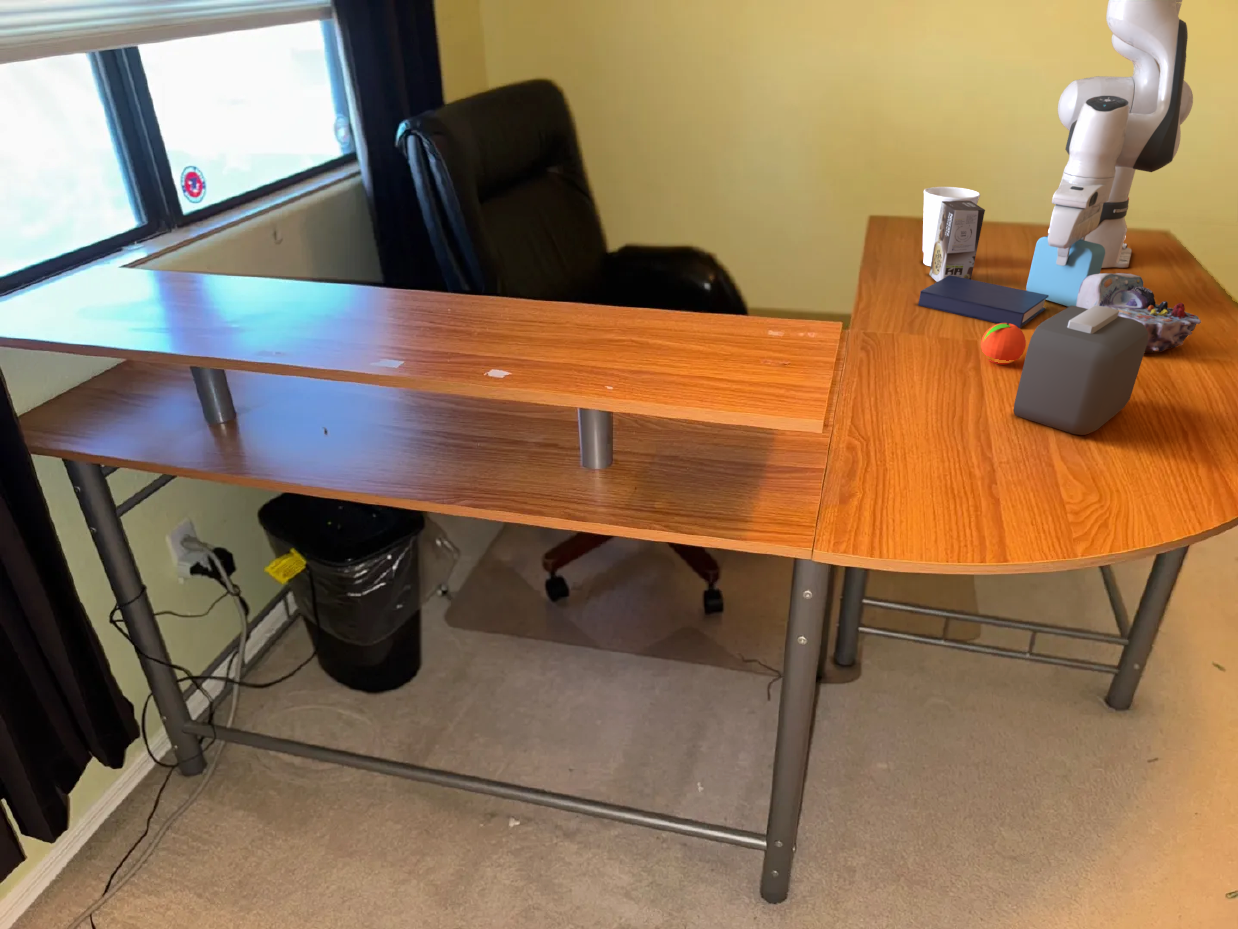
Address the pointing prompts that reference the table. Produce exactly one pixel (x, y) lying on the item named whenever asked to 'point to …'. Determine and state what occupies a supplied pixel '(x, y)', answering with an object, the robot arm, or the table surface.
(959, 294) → the book
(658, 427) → the table surface
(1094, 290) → the cell model
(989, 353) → the clementine
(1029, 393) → the alarm clock
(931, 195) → the cup
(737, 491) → the table surface
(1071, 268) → the data package
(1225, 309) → the table surface
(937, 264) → the coffee box
